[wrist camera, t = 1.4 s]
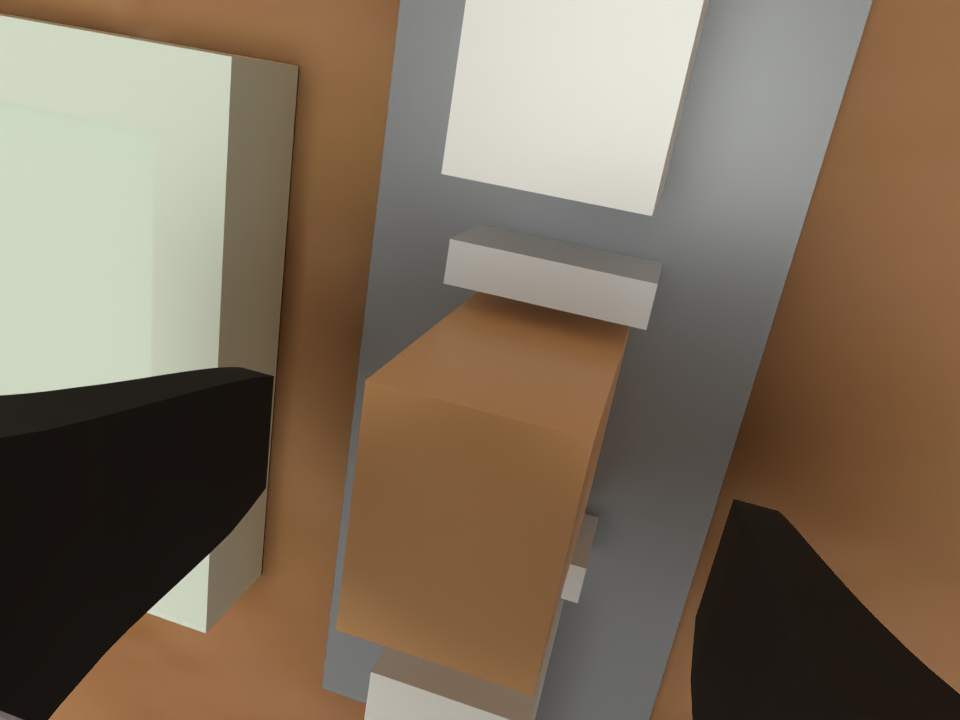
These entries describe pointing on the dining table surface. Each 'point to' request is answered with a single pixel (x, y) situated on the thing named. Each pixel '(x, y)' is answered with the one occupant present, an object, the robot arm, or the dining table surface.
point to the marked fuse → (477, 485)
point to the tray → (143, 230)
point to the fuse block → (600, 279)
